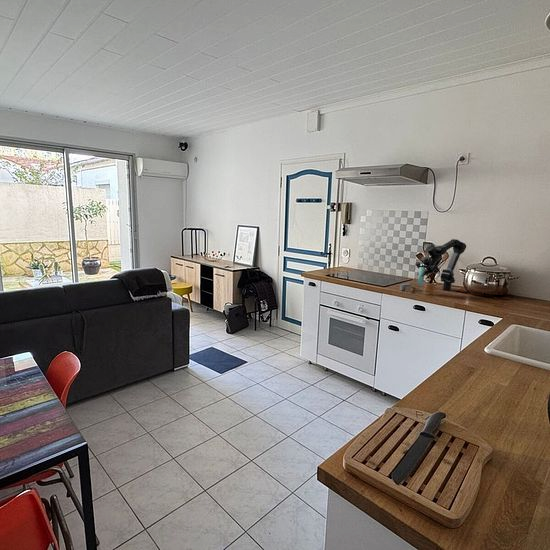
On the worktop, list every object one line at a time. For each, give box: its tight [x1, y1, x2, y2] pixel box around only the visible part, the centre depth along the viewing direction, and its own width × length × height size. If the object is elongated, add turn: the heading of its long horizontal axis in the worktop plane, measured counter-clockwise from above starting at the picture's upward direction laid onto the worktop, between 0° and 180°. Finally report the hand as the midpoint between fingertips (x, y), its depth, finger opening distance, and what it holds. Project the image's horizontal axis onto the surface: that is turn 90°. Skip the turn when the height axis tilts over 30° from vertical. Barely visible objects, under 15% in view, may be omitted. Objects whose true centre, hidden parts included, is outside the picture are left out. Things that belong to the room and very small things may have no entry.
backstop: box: [399, 283, 412, 291], centre depth 272 cm, size 2×10×4 cm, turn 122°
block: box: [404, 285, 421, 294], centre depth 267 cm, size 6×9×3 cm, turn 122°
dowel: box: [417, 267, 426, 286], centre depth 259 cm, size 4×4×12 cm
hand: (420, 275), depth 259 cm, fingers closed on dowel, 4 cm apart
